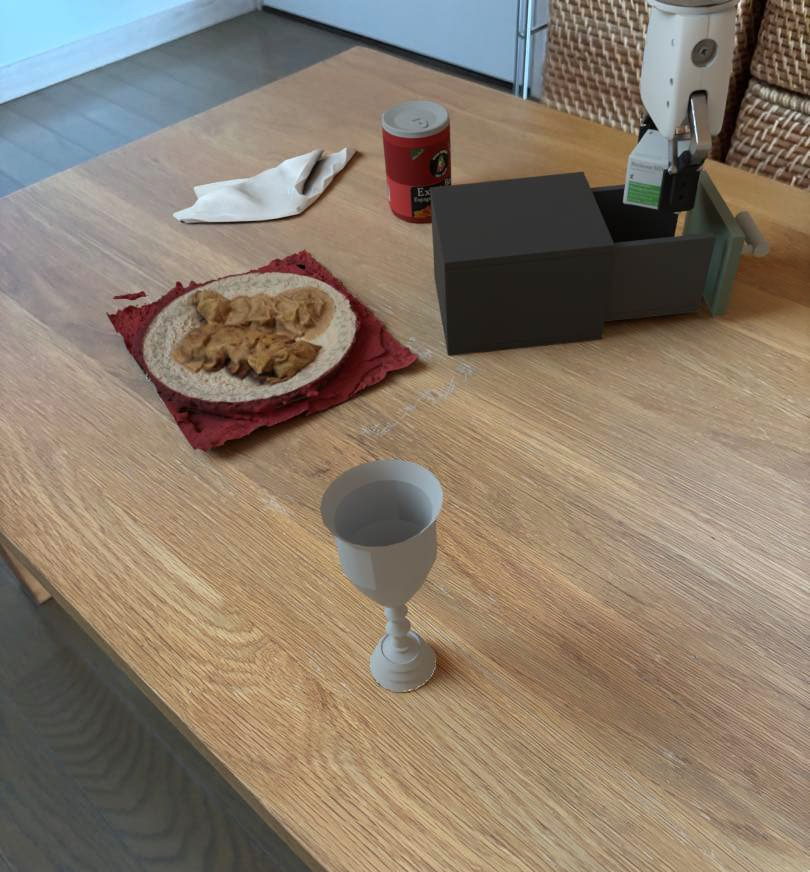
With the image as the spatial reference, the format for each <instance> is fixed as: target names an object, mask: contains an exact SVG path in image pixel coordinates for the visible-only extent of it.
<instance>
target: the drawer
mask: <svg viewBox="0 0 810 872" xmlns="http://www.w3.org/2000/svg"><path fill="white" fill-rule="evenodd" d="M590 188H591V190H592V193H593V195H594V198H595V200H596V202H597V205H598V207H599V209H600V212H601V214H602V216H603V219H604V221H605V224H606V226H607V228H608V231H609V233H610V235H611V238H612V240H613V242H614V245H615V246H614V252H613V260H612V268H611V275H610V283H609V290H608V298H607V305H606V313H605V321H604V322H610V321H611V322H612V321H620V320H632V319H640V318H649V317H659V316H668V315H678V314H688V313H696V312H697V313H698V312H700V308H701V303H702V300H703V298H704V301H705V302H706V304H707V307H708V308H709V311H710V312H711V314H712V316H713V317H721V316H722V317H723V316H724V317H725V316H726V314H727V309H728V306H729V304H730V303H729V302H730V298H731V295H732V291H733V287H734V283H735V280H736V275H737V271H738V269H739V268H738V267H739V264H740V260H741V256H742V255H743V254H750V253H752V255H753V256H754V257H755V258H763V257H765V256H766V255H767V254H769V252H770V249H771V246H770V244H769V242H768V241H767V239H766V238H765V236H764V235H763V233H762V231H761V229H760V228H759V226H758V225H757V223H756V222H755V220H754V218H753V217H752V215H751V214H750V212H748V211H747V210H743V211H740V212H738V213H737V214H736V215H735V216H734V214H733V212H732V211H731V210H730V208H729V206H728V205H727V203H726V201H725V200H724V198H723V196H722V194H721V193H720V191H719V190H718V188H717V187H716V185H715V183H714V182H713V180H712V179H711V177H710V175H709V173H708V172H707V170H702V171H701V173H700V179H699V185H698V188H697V193H696V199H695V204H694V208H693V209H692V210H690V211H685V218H684V223H683V227H682V231H681V235H677V236H675V235H676V230H677V226H678V221H679V215H680V214H675V213H666V214H661V213H659V211H658V209H653V208H647V207H642V206H637V205H631V204H630V205H628V204H624V203H623V199H624V190H625V183H623V184H615V185H606V186H595V187H590ZM745 243H746V244H745Z"/></svg>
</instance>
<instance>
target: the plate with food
mask: <svg viewBox="0 0 810 872" xmlns="http://www.w3.org/2000/svg"><path fill="white" fill-rule="evenodd" d="M298 265H301V266H305V268H300V267H299V266H298ZM146 297H149V294H146V292H145V291H144V290H141V291H140V292H136V293H135V292H134V293H125V294H120V295H115V296H113V297H112V300H128V301H136V300H138V299H140V298H146ZM138 306H139V304H136V305H131V304H130V305H128V306H126V307H124V308H123V309H122V310H121V309H120V308H118V309H117V311H116V313H111V314H109V312H107V311H106V312H105V313H106V316H107V318H108V320H109V322H110V323H111V324H112V326H113V328H114V330H115V332H116V334H120V335H121V336H122V338H123V343H124V345H125V348H126V349H127V351H128V353H129V354H130V355H131V356H132V357H133V359H134V361H135V362H136V364H137V366H138V367H139V368H140V370H141V371H142V373H143V374H144V375H145V378H146V380H148V383H149V384H153V385H154V387H155V389H156V395H157V396H158V399H159V400H160V401H161V403H162V404H163V406H164V407H165V408H166V409H167V410H168V412H169V413H170V415H171V416H172V421H174V422H175V424H176V425H177V427H178V428H179V430H180V432H181V433H182V435H183V436H184V438H185V440H186V441H187V443H188V444H189V445H190V447H192V449H193V450H194V451H196V450H201V451H203V452H205V453H206V452H208V451H210V450H211V449H212V448H217V447H220V446H224V445H225V442H226V441H229V440H235V439H236V440H238V439H239V440H240V439H241V438H243V437H244V436H247V435H250V434H251V433H252V432H253V431H255V430H258V429H259V428H261V427H263V426H266V427H268V428H270V427H272V426H274V425H277V424H279V423H282V422H286V421H287V420H289V419H291V418H293V417H297V419H299V418H300V417H299V416H298V415H300V414H302V413H304V412H305V411H307V412H306V414H305V417H309V415H314V413H317V412H321V411H323V410H327V409H329V408H331V407H332V406H336V405H337V404H342V403H343V402H345V401H349V399H350V398H355V397H356V393H357V392H359V391H361V390H364V389H365V388H366V387H370V386H373V385H375V384H378V383H380V382H381V381H382V380H383V379H384V378H386V377H387V372H390V371H396V370H400V369H404V368H406V367H408V366H410V365H411V364H413V363H414V362H415V360H416V359H417V358H418V354H414V353H412V351H411V349H410V348H409V347H406V346H404V347H403V346H402V345H401V344H400V343H399V342H398V341H397V340H396V339H395V338H394V337H393V336H391V335H390V333H389V332H387V330H386V329H385V328H384V324H382V323H381V321H380V319H379V318H378V317H377V316H375V315H373V314H372V313H371V312H370V311H369V310H368V308H367V307H366V305H364V303H361V302H360V301H359V300H358V299H357V298H355V296H353V294H352V293H351V292H350V291H348V290H347V289H345V288H344V287H343V285H342V284H341V282H340V281H338V280H337V278H336V277H335V276H334V275H333V274H330V273H329V272H328V270H326V268H324V266H322V264H321V262H318V261H317V260H315V259H314V258H313V257H312V256H311V255H310V254H309V252H308V251H307V250H306V249H305V248H304V249H302V250H301V251H298V252H297V253H296V252H295V253H292V254H291V255H287V256H285V257H284V258H283V259H280V258H274V259H272V260H271V261H270V262H269V263H268V264H267V265H264V266H261V267H258V268H257V269H249V270H248V271H246V272H242V273H237V274H229V275H225V276H223V277H218V278H217V279H210V280H207V281H205V282H197V283H196V281H194V280H190V282H189V284H188V286H187V287H184V286H183V283H182V282H181V281H175V287H173V288H171V289H170V290H169V291H168V292H167V293H166V294H164V295H161V297H160V298H158V299H157V300H156V301H152V302H151V303H146V302H144V304H142V305H141V306H139V307H138Z"/></svg>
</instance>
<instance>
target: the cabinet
mask: <svg viewBox="0 0 810 872" xmlns="http://www.w3.org/2000/svg"><path fill="white" fill-rule="evenodd" d="M591 188H592V187H591V186H590V183H589V182H588V178H587V177H586V174H585V172H584V171H576V172H575V171H574V172H566V173H565V172H564V173H557V174H548V175H537V176H536V175H535V176H527V177H519V178H507V179H500V180H498V179H497V180H490V181H479V182H471V183H470V182H469V183H460V184H451V185H450V186H441V187H431V188H430V194H431V214H432V221H431V232H432V234H431V235H432V251H433V253H432V254H433V273H434V275H433V276H434V282H435V283H434V284H435V289H436V295H437V300H438V305H439V306H438V307H439V312H440V318H441V324H442V331H443V335H444V341H445V347H446V352H447V356H455V355H463V354H473V353H483V352H493V351H502V350H503V351H504V350H512V349H513V350H514V349H521V348H522V349H523V348H531V347H542V346H549V345H551V346H552V345H559V344H569V343H578V342H579V343H580V342H589V341H599V340H602V339H603V336H604V335H603V334H604V328H605V327H604V326H605V322H606V321H605V313H606V305H607V298H608V290H609V283H610V275H611V268H612V260H613V252H614V246H615V245H614V242H613V240H612V238H611V235H610V233H609V231H608V228H607V226H606V224H605V221H604V219H603V216H602V214H601V212H600V209H599V207H598V205H597V202H596V200H595V198H594V195H593V193H592V190H591Z"/></svg>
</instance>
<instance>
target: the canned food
mask: <svg viewBox="0 0 810 872" xmlns="http://www.w3.org/2000/svg"><path fill="white" fill-rule="evenodd" d="M381 131H382V133H381V134H382V135H381V136H382V145H383V154H384V155H383V157H384V167H385V177H386V187H387V189H386V190H387V198H388V205H389V208H390V210H391V213H392V214H393V215H394V216H395V217H396V218H398V219H400V220H402V221H404V222H408V223H414V224H415V223H416V224H421V223H430V222H432V214H431V194H430V188H431V187H441V186H450V185H452V150H451V148H452V147H451V146H452V145H451V117H450V113H449V110H448V109H447V108H446V106H443V105H442V104H439V103H438V102H433V101H427V100H409V101H404V102H399V103H397V104H394V105H392V106H390V107H389V108H387V109H386V110H385V111H384V112H383V113H382V116H381Z"/></svg>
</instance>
